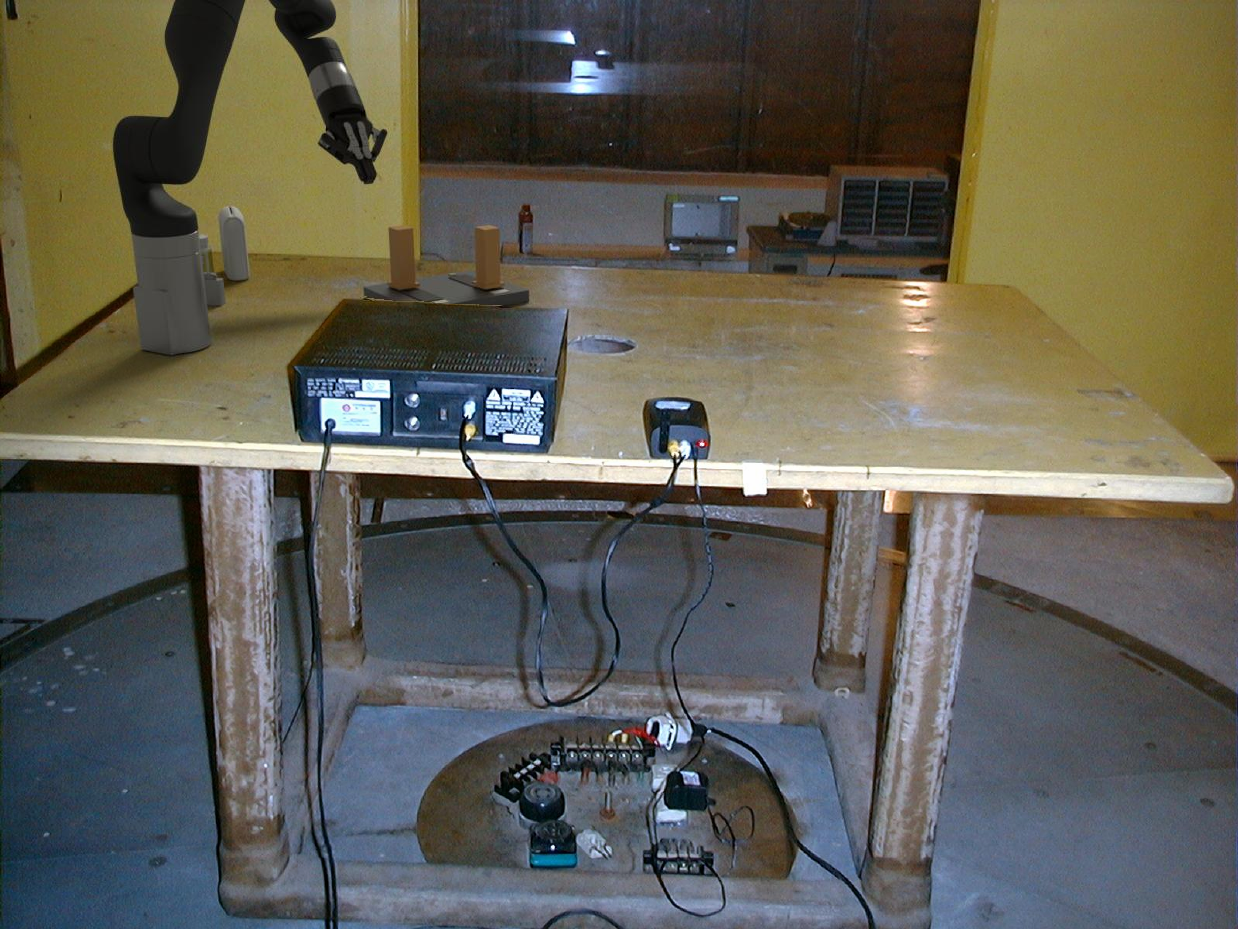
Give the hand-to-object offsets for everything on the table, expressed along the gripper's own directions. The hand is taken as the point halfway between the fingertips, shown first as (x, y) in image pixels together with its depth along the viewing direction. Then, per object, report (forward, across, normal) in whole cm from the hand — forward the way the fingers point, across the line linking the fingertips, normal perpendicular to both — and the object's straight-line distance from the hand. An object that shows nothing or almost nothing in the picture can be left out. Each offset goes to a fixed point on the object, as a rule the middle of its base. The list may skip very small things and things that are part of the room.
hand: (370, 181), depth 210 cm
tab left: (+19, 0, +2) cm, 19 cm away
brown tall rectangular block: (+24, +12, -4) cm, 27 cm away
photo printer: (0, -17, +29) cm, 34 cm away
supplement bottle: (+2, -24, +27) cm, 37 cm away
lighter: (+10, -29, +17) cm, 35 cm away
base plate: (+24, +6, +1) cm, 24 cm away
